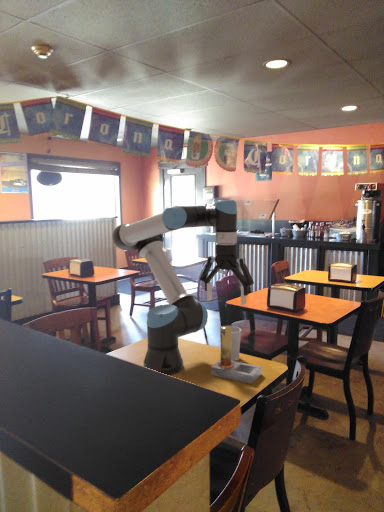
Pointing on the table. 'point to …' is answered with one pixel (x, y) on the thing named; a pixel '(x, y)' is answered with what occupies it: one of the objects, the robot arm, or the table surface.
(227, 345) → the brass cylinder with tabs
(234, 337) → the cup
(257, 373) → the plate with copper dome
